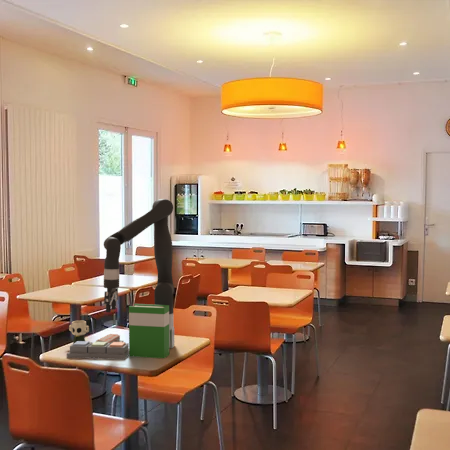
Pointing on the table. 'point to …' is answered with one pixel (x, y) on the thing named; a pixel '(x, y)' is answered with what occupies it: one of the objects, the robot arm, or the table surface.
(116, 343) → the terracotta button
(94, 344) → the sage button
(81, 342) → the slate button
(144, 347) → the green cereal box
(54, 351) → the table surface
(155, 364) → the table surface
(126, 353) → the button panel
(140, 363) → the table surface
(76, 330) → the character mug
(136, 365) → the table surface
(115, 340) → the packaged product
